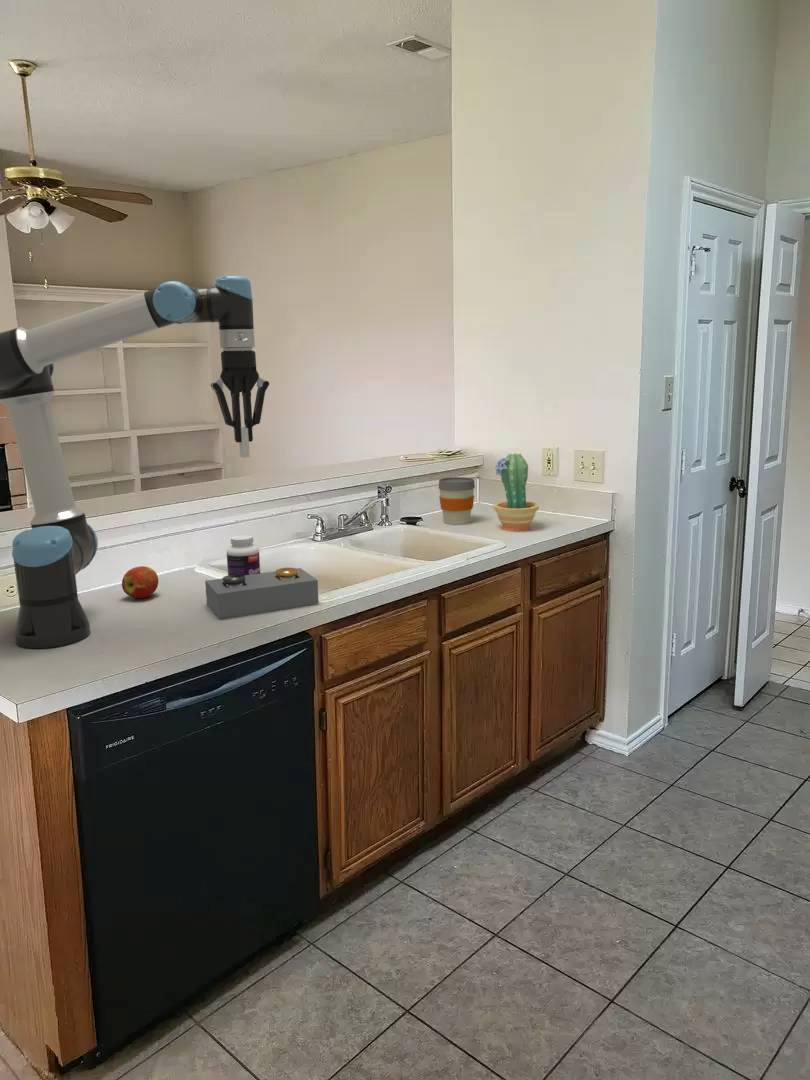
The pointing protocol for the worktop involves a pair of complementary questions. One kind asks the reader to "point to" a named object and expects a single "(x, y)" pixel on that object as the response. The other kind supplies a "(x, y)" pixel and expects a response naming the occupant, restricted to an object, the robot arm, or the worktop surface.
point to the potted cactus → (514, 494)
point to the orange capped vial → (286, 573)
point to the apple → (140, 582)
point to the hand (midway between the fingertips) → (244, 456)
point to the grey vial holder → (261, 594)
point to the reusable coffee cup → (456, 499)
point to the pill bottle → (243, 556)
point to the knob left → (233, 580)
